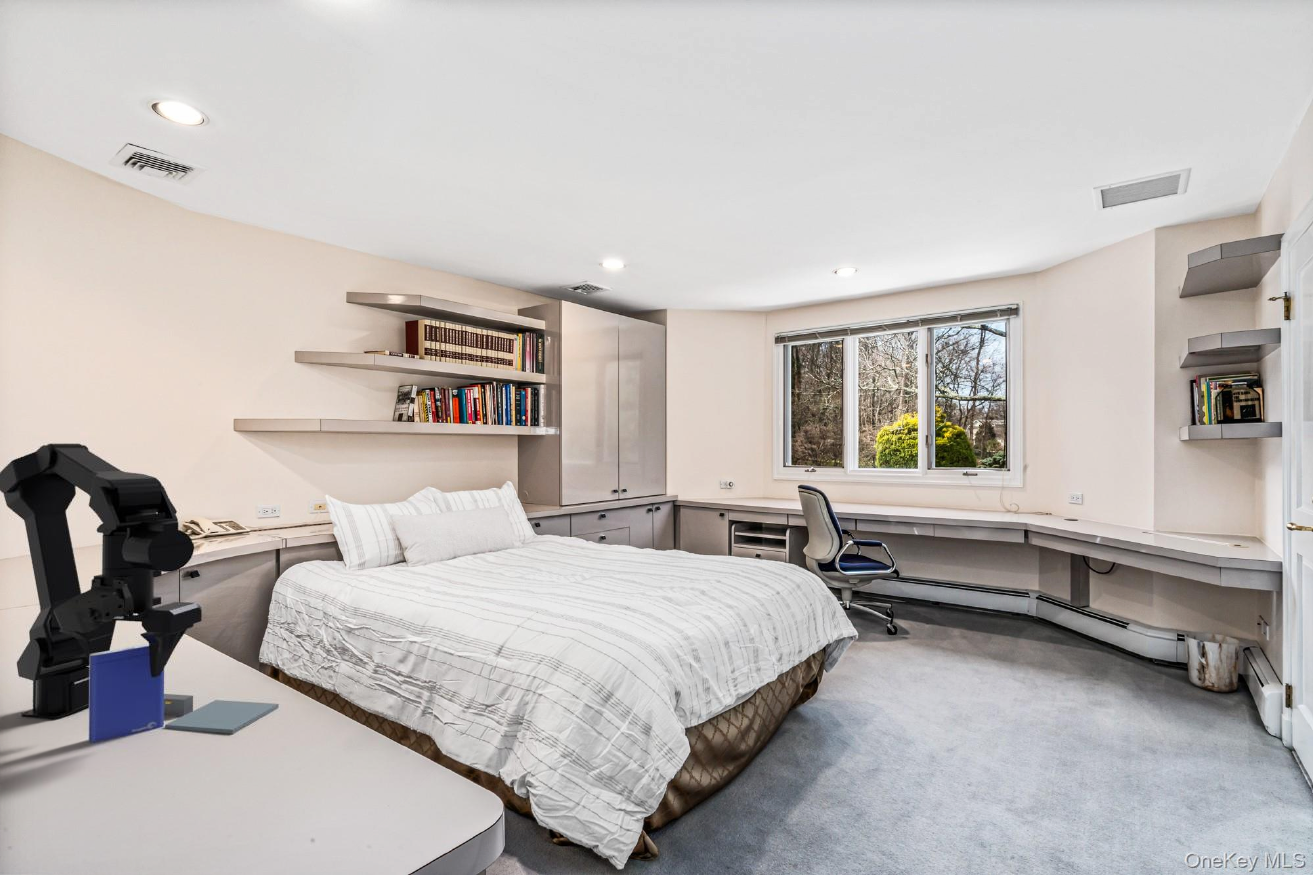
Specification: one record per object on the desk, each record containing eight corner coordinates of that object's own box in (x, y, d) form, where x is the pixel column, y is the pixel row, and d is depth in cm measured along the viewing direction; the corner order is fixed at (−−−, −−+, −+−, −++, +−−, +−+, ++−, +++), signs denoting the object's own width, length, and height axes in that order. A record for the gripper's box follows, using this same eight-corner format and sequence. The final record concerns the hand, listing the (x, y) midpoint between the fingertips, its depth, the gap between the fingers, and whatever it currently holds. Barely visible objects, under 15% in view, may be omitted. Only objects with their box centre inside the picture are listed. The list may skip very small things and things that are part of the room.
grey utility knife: (114, 712, 98) (114, 696, 98) (125, 707, 100) (126, 691, 100) (182, 716, 96) (182, 700, 96) (192, 711, 98) (193, 695, 98)
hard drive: (164, 727, 93) (165, 643, 93) (89, 747, 87) (90, 656, 87) (162, 724, 94) (163, 640, 94) (88, 743, 88) (89, 653, 88)
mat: (164, 728, 92) (164, 724, 92) (215, 703, 101) (215, 699, 101) (233, 733, 91) (233, 729, 91) (278, 707, 100) (278, 703, 100)
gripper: (7, 574, 84) (6, 693, 83) (132, 580, 81) (131, 701, 81) (93, 559, 95) (92, 663, 95) (205, 563, 92) (204, 670, 92)
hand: (127, 674), depth 90 cm, fingers open, 9 cm apart
